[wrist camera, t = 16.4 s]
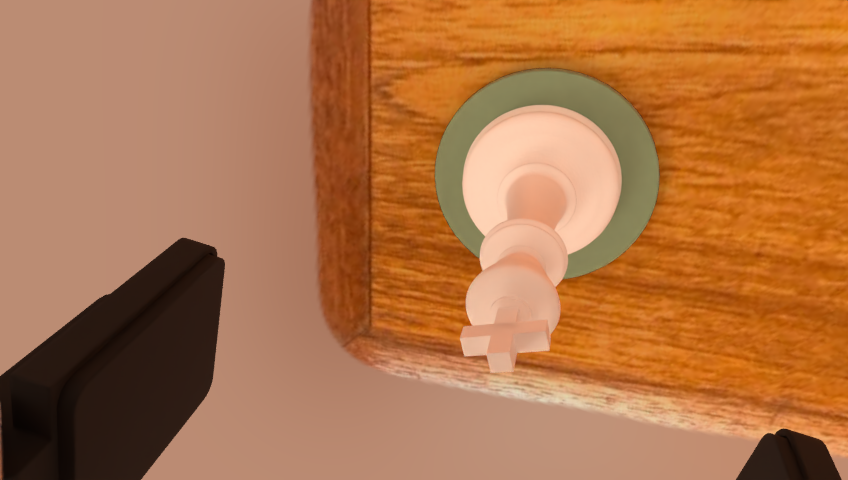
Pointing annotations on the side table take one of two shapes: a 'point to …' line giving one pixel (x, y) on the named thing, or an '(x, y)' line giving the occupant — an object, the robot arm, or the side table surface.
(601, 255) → the coaster
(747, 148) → the side table surface
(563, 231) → the chess piece
